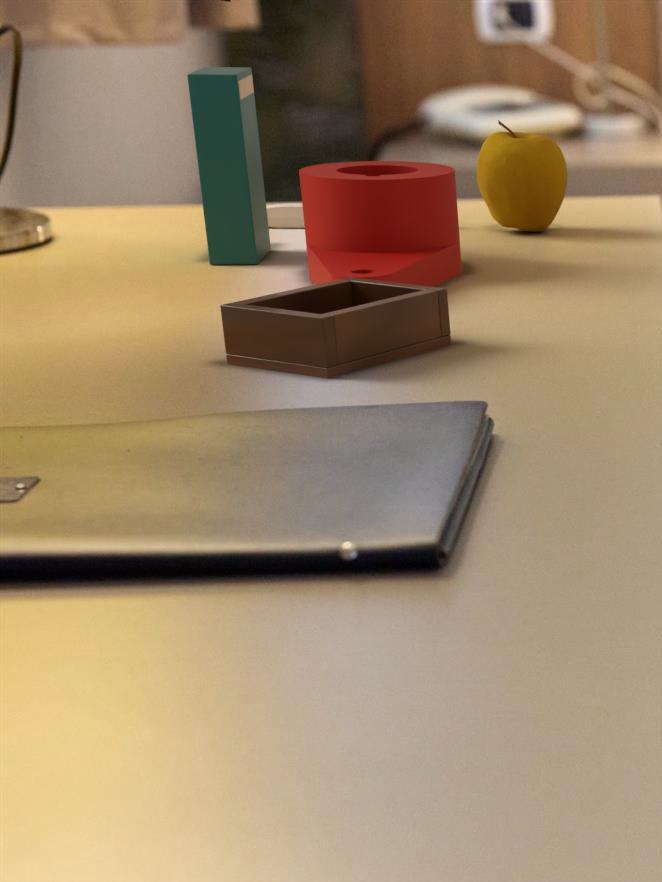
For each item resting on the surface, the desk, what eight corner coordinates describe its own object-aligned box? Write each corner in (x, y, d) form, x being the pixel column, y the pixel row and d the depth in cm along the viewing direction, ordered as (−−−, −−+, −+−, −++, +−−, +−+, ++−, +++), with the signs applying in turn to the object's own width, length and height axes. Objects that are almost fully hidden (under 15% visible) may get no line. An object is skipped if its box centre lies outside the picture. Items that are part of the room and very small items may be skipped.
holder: (328, 383, 98) (322, 318, 96) (227, 369, 100) (219, 304, 99) (452, 349, 106) (447, 288, 105) (355, 336, 108) (350, 276, 107)
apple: (462, 230, 144) (454, 118, 141) (535, 222, 148) (529, 114, 145) (513, 241, 140) (506, 126, 137) (586, 233, 144) (581, 121, 141)
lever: (320, 263, 129) (310, 160, 127) (467, 262, 131) (459, 161, 128) (277, 315, 113) (264, 198, 110) (445, 314, 114) (436, 199, 112)
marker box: (258, 264, 128) (237, 74, 124) (208, 264, 128) (186, 74, 123) (271, 249, 134) (252, 67, 129) (224, 249, 133) (202, 66, 129)
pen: (445, 229, 144) (443, 206, 143) (248, 227, 142) (245, 204, 142) (448, 226, 145) (446, 203, 145) (252, 224, 144) (250, 201, 143)
